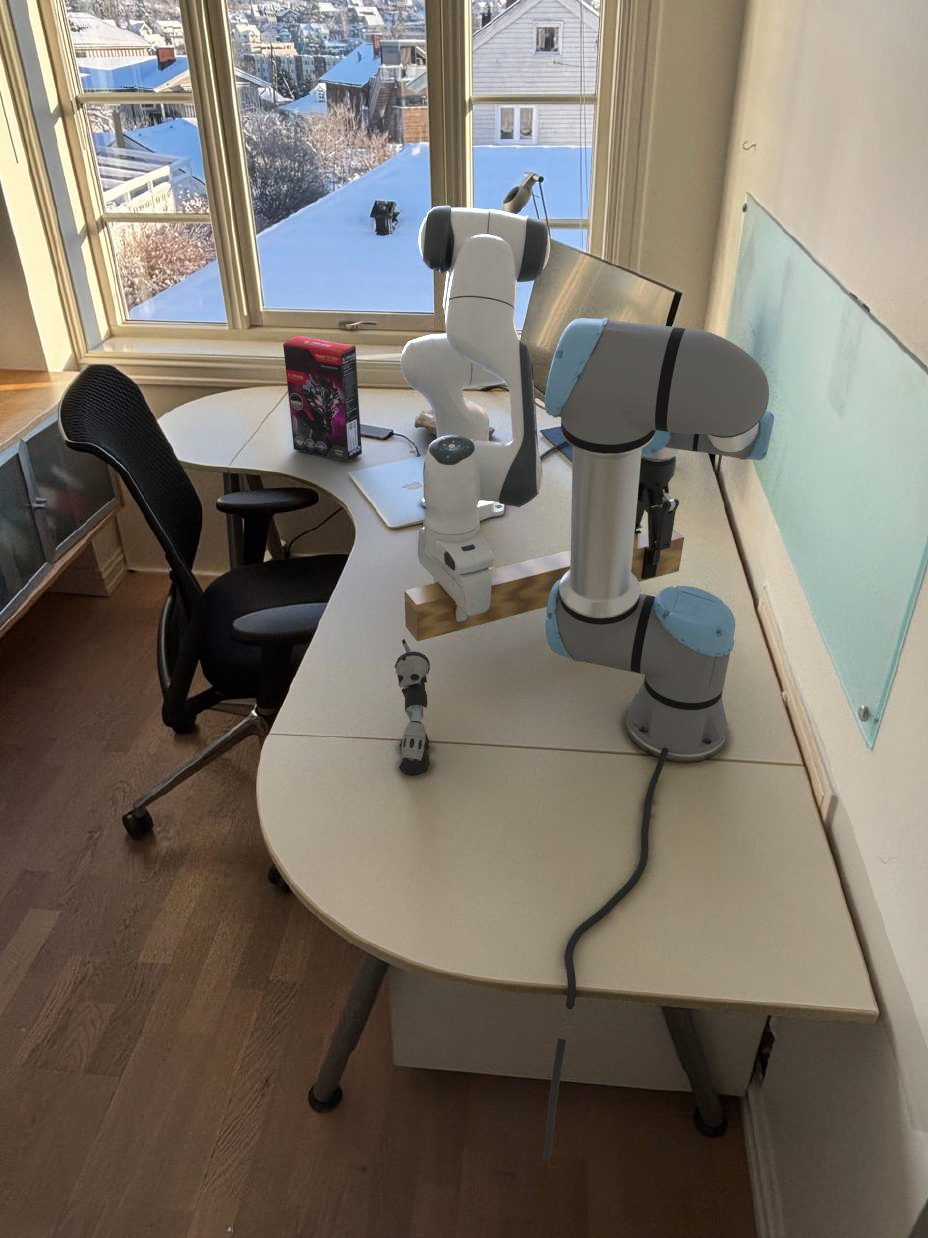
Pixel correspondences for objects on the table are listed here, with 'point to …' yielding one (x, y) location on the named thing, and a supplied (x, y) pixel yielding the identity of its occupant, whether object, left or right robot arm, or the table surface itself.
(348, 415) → the graphics card box
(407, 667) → the robot
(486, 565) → the left robot arm
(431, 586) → the post
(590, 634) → the right robot arm
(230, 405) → the table surface
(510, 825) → the table surface
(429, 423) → the stone
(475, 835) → the table surface
